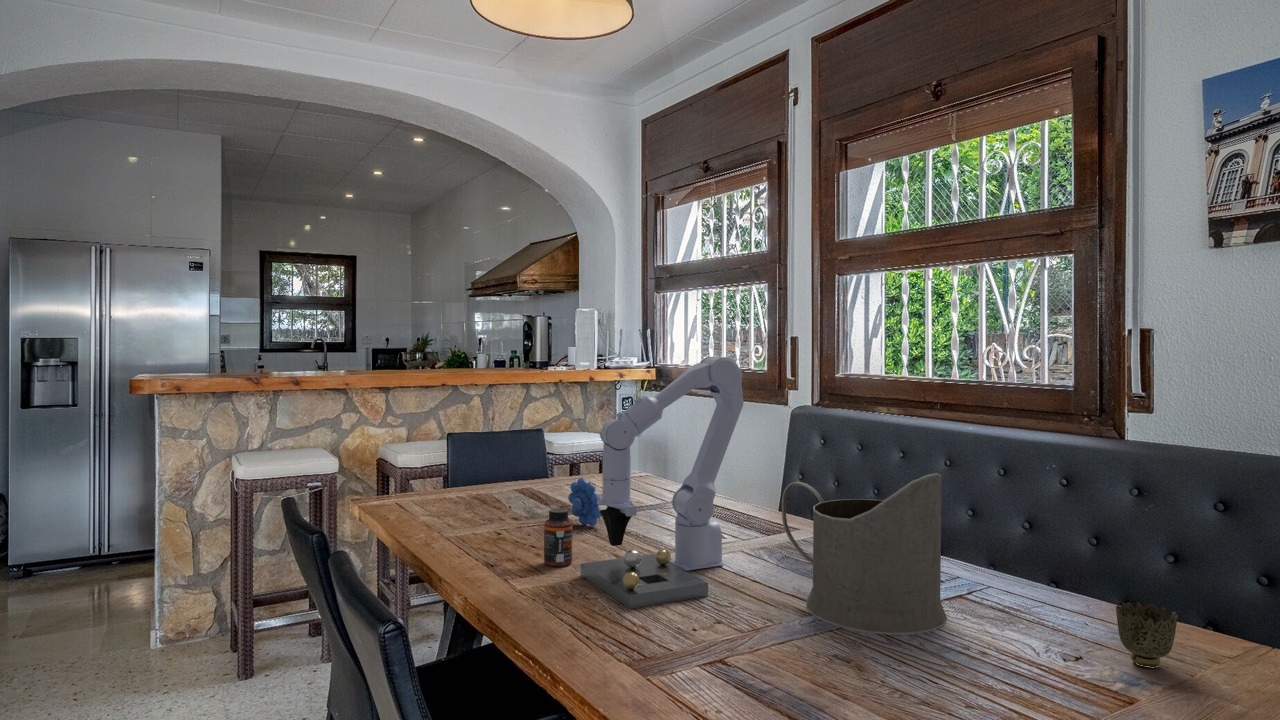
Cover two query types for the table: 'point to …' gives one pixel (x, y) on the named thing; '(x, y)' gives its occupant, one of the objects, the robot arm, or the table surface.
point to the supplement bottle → (558, 538)
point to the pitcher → (877, 560)
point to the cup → (1146, 632)
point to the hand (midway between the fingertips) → (615, 544)
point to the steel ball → (632, 558)
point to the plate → (644, 582)
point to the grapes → (584, 502)
